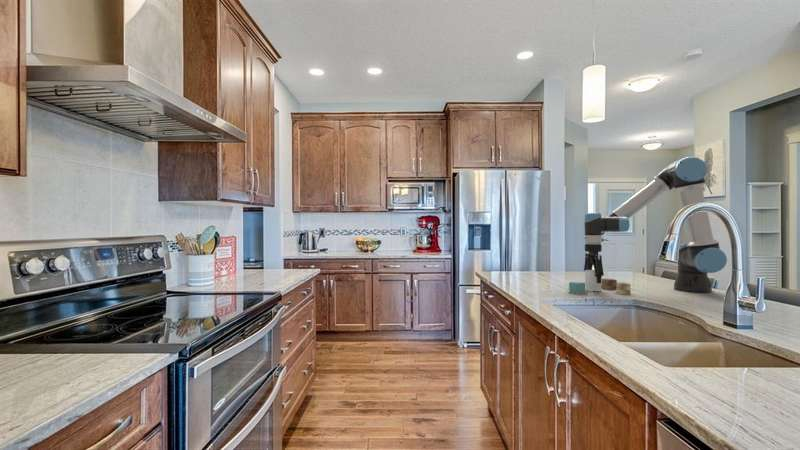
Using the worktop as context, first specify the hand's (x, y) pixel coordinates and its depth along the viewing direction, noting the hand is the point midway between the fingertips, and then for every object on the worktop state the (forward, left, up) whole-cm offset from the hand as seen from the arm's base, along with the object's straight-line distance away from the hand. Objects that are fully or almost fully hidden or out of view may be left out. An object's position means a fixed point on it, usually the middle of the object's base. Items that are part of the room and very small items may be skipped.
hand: (593, 287), depth 190 cm
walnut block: (-10, -6, -1) cm, 12 cm away
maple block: (-11, +7, -1) cm, 13 cm away
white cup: (0, 0, -2) cm, 2 cm away
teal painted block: (+10, +6, -1) cm, 12 cm away
